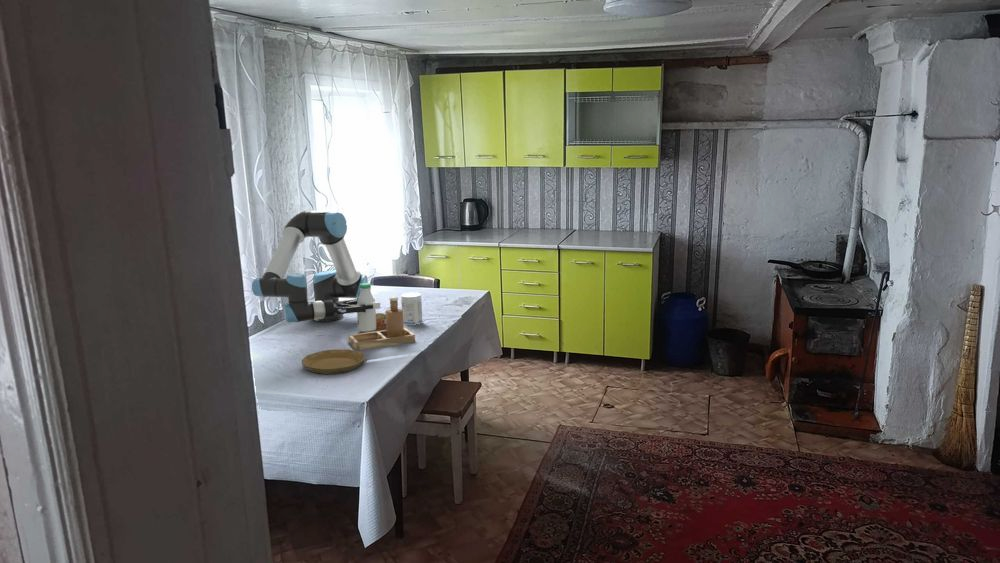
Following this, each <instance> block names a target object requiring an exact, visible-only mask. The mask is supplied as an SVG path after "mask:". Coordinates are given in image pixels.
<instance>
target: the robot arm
mask: <svg viewBox="0 0 1000 563" xmlns="http://www.w3.org/2000/svg"><path fill="white" fill-rule="evenodd" d="M347 230H348V225H347V219H346V217H345V215H344V214H343V213H342V212H341V211H339V210H331V209H330V210H308V209H307V210H303V211H300V212H299V213H297V214H296V215H294V216H293V217H291V219H290V220H288V222H287V223H286V225H285V226H284V228H283V230H282V237H281V240H280V242H279V243H278V245H277V248H276V250H275V251H274V253H273V256H272V258H271V260H269V263H268V266H267V268H266V269H265V271H264V273H263V275H262V277H257V278H254V279H253V281H252V283H251V291H252V294H253V295H254V296H255V297H261V298H287V299H288V300H287V301H288V303H287V304H284V305H283V317H284V320H285V322H286V323H290V324H291V323H301V322H306V321H316V322H335V321H338V320H340V319H343V318H344V315H346V314H347V315H348V314H355V313H356V314H357V312H364V313H365V312H366V310H372V309H376V310H379V309H381V302H380V301H376V299H375V297H373V298H374V301H375V303H366V304H365V305H364V304H363V305H357V301H358V298H359V295H360V284H362V283H369V282H368V276H367V274H364V273H363V274H362V273H361V271H360V270H359V268H357V267H355V264H354V261H353V259H352V256H351V254H350V252H349V249H348V247H347V246H348V245H347V244H346V241H345V235H346V234H347ZM308 237H313V238H318V239H319V241H320V243H321V244H323V245H324V246H325V248H326V250H327V252H328V254H329V257H330V259H331V262H332V264H333V266H334V268H335V270H333V269H332V270H326V271H321V272H317V273H315V274H314V275H313V279H312V280H313V282H312V284H313V298H314V301H309V300H308V298H309V296H308V284H307V277H306V275H305V274H304V273H300V272H299V273H290V274H287V276H286V275H285V274H286V272H287V270H288V269H289V266H290V264H291V262H292V260H293V258H294V256H295V253H296V251H297V250H298V248H299V246H300V244H301V243H303V242H304V241H305V239H306V238H308ZM285 276H286V278H284V277H285ZM340 299H347V300H340Z"/></svg>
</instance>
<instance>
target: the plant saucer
mask: <svg viewBox="0 0 1000 563" xmlns="http://www.w3.org/2000/svg"><path fill="white" fill-rule="evenodd" d="M365 358H366V356H365V354H364V353H363V352H361V351H360V350H356V349H355V350H354V349H346V348H345V349H343V348H341V349H339V348H337V349H326V350H321V351H316V352H313V353H310V354H307V355H306V356H304V357H303V358H302V360H301V364H302V366H303V367H304V368H306V369H307V370H309V371H311V372H313V373H316V374H322V375H323V374H324V375H330V374H331V375H332V374H333V375H334V374H340V373H346V372H350V371H352V370H355V369H356V368H358V367H359V366H361V364H362V363H364V360H365Z"/></svg>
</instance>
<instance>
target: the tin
mask: <svg viewBox="0 0 1000 563" xmlns="http://www.w3.org/2000/svg"><path fill="white" fill-rule="evenodd" d="M382 329H383V330H384V329H386V314H385V313H381V312H376V330H375V331H379V330H382ZM359 332H360V333H365V332H363V331H359Z"/></svg>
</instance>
